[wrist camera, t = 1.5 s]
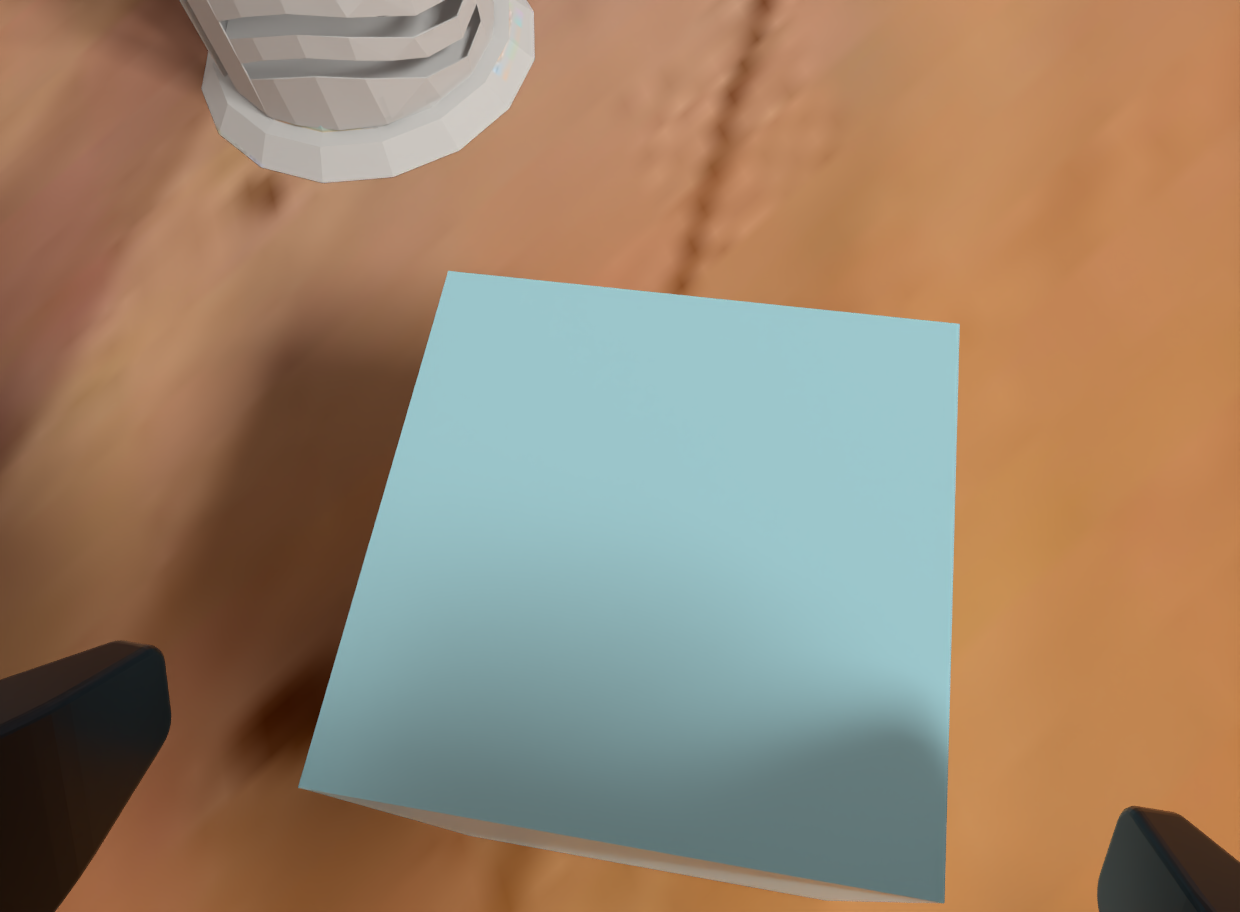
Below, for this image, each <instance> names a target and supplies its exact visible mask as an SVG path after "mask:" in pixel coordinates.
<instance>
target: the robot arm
mask: <svg viewBox="0 0 1240 912" xmlns="http://www.w3.org/2000/svg"><path fill="white" fill-rule="evenodd" d="M170 724H171V708H170V700H169V692H168V683H167V675H166V666H165V660H164V656H163V654H162V652H161V651H160V650H159V649H158V648H157V647H155V646H153V645H147V644H141V643H135V642H129V641H114V642H110V643H107V644H104V645H101V646H98V647H95V648H93V649H90V650H87V651H84V652H81V653H78V654H75V655H72V656H69V657H66V658H63V659H60V660H57V661H54V662H51V663H48V664H45V665H42V666H40V667H37V668H34V669H31V670H28V671H25V672H22V673H19V674H16V675H13V676H10V677H7V678H4V679H1V680H0V912H55V911H56V910H57V908H58V907H59V906H60V904H61V903H62V902H63V900H64V899H65V898H66V896H67V895H68V893H69V892H70V891H71V889H72V888H73V886H74V885H75V884H76V882H77V881H78V879H79V878H80V877H81V875H82V874H83V872H84V870H85V869H86V867H87V866H88V864H89V863H90V861H91V860H92V858H93V857H94V855H95V854H96V852H97V851H98V849H99V847H100V846H101V844H102V842H103V841H104V839H105V838H106V836H107V834H108V833H109V831H110V830H111V828H112V826H113V825H114V823H115V821H116V820H117V818H118V817H119V815H120V813H121V812H122V810H123V808H124V807H125V805H126V804H127V802H128V800H129V799H130V797H131V795H132V794H133V792H134V791H135V789H136V787H137V786H138V784H139V783H140V781H141V779H142V778H143V776H144V774H145V773H146V771H147V770H148V768H149V766H150V765H151V763H152V761H153V760H154V758H155V757H156V755H157V753H158V752H159V750H160V748H161V747H162V745H163V743H164V742H165V740H166V737H167V735H168V732H169V728H170ZM1097 899H1098V908H1099V912H1240V862H1239V861H1238V860H1236V859H1235V858H1234V857H1233V856H1231V855H1230V854H1229V853H1228V852H1226V851H1225V850H1224V849H1223V848H1221V847H1220V846H1219V845H1218V844H1216V843H1215V842H1214V841H1213V840H1211V839H1210V838H1209V837H1208V836H1206V835H1205V834H1204V833H1203V832H1201V831H1200V830H1199V829H1198V828H1196V827H1195V826H1194V825H1193V824H1191V823H1190V822H1189V821H1188V820H1186V819H1185V818H1184V817H1182V816H1181V815H1179V814H1177V813H1174V812H1170V811H1163V810H1157V809H1151V808H1145V807H1139V806H1131V807H1128V808H1126V809H1124V811H1123V812H1122V813H1121V815H1120V816H1119V819H1118V821H1117V824H1116V827H1115V830H1114V833H1113V836H1112V839H1111V842H1110V845H1109V848H1108V851H1107V854H1106V857H1105V860H1104V864H1103V867H1102V870H1101V873H1100V876H1099V880H1098V888H1097Z"/></svg>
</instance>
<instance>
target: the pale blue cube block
mask: <svg viewBox="0 0 1240 912" xmlns="http://www.w3.org/2000/svg"><path fill="white" fill-rule="evenodd" d="M959 328H960V324H955V323H945V322H936V321H926V320H916V319H907V318H897V317H887V316H878V315H868V314H858V313H849V312H839V311H829V310H820V309H810V308H800V307H791V306H781V305H772V304H762V303H752V302H743V301H733V300H723V299H714V298H704V297H694V296H685V295H675V294H665V293H656V292H646V291H637V290H627V289H617V288H608V287H598V286H588V285H579V284H569V283H559V282H550V281H540V280H530V279H521V278H511V277H501V276H492V275H482V274H473V273H463V272H453V271H448V274H447V277H446V281H445V284H444V288H443V291H442V295H441V298H440V301H439V305H438V308H437V312H436V315H435V319H434V322H433V325H432V329H431V332H430V336H429V339H428V343H427V346H426V350H425V353H424V356H423V360H422V363H421V367H420V370H419V374H418V377H417V380H416V384H415V387H414V391H413V394H412V398H411V401H410V405H409V408H408V411H407V415H406V418H405V422H404V425H403V429H402V432H401V435H400V439H399V442H398V446H397V449H396V453H395V456H394V460H393V463H392V466H391V470H390V473H389V477H388V480H387V484H386V487H385V490H384V494H383V497H382V501H381V504H380V508H379V511H378V514H377V518H376V521H375V525H374V528H373V532H372V535H371V539H370V542H369V545H368V549H367V552H366V556H365V559H364V563H363V566H362V569H361V573H360V576H359V580H358V583H357V587H356V590H355V594H354V597H353V600H352V604H351V607H350V611H349V614H348V618H347V621H346V624H345V628H344V631H343V635H342V638H341V642H340V645H339V649H338V652H337V655H336V659H335V662H334V666H333V669H332V673H331V676H330V679H329V683H328V686H327V690H326V693H325V697H324V700H323V704H322V707H321V710H320V714H319V717H318V721H317V724H316V728H315V731H314V734H313V738H312V741H311V745H310V748H309V752H308V755H307V759H306V762H305V765H304V769H303V772H302V776H301V779H300V783H299V786H298V788H302V789H305V790H309V791H312V792H316V793H320V794H323V795H327V796H330V797H334V798H337V799H341V800H344V801H348V802H352V803H355V804H359V805H362V806H366V807H369V808H373V809H376V810H380V811H384V812H387V813H391V814H394V815H398V816H401V817H405V818H408V819H412V820H416V821H419V822H423V823H426V824H430V825H433V826H437V827H440V828H444V829H448V830H451V831H455V832H458V833H462V834H465V835H469V836H474V837H479V838H485V839H490V840H496V841H501V842H507V843H512V844H518V845H523V846H529V847H534V848H540V849H545V850H551V851H556V852H562V853H567V854H573V855H578V856H584V857H589V858H595V859H600V860H606V861H611V862H617V863H622V864H628V865H633V866H639V867H644V868H650V869H655V870H661V871H666V872H672V873H677V874H683V875H688V876H694V877H699V878H705V879H710V880H716V881H721V882H727V883H732V884H738V885H743V886H749V887H754V888H760V889H765V890H771V891H776V892H782V893H787V894H793V895H798V896H804V897H809V898H815V899H820V900H826V901H867V902H908V903H944V899H945V861H946V823H947V785H948V747H949V709H950V670H951V632H952V594H953V556H954V518H955V480H956V442H957V404H958V366H959Z"/></svg>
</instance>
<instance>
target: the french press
mask: <svg viewBox="0 0 1240 912" xmlns="http://www.w3.org/2000/svg"><path fill="white" fill-rule="evenodd" d="M179 1H180V2H181V4H182V6H183V8H184V9H185V11H186V13H187V15H188V16H189V18H190V20H191V22H192V23H193V25H194V27H195V29H196V30H197V32H198V34H199V36H200V37H201V39H202V41H203V43H204V44H205V46H206V48H207V49H208V56H207V62H206V67H205V73H204V78H203V84H202V91H203V94H204V97H205V99H206V102H207V104H208V107H209V110H210V112H211V115H212V117H213V120H214V123H215V125H216V128H217V130H218V133H219V134H220V135H221V136H222V137H224V138H225V139H226V140H227V141H229V142H230V143H231V144H232V145H234V146H235V147H236V148H237V149H239V150H240V151H241V152H243V153H244V154H245V155H246V156H248V157H249V158H250V159H251V160H253V161H254V162H255V163H256V164H258V165H259V166H260V167H262V168H266V169H270V170H274V171H278V172H282V173H286V174H290V175H294V176H297V177H301V178H305V179H309V180H313V181H317V182H321V183H328V182H340V181H352V180H364V179H376V178H388V177H395V176H397V175H400V174H402V173H405V172H407V171H410V170H412V169H414V168H417V167H419V166H422V165H424V164H427V163H429V162H432V161H434V160H437V159H439V158H442V157H444V156H447V155H449V154H452V153H454V152H457V151H459V150H460V149H462V148H463V147H464V146H465V145H466V144H468V143H469V142H470V141H471V140H472V139H473V138H475V137H476V136H477V135H478V134H479V133H481V132H482V131H483V130H484V129H485V128H486V127H488V126H489V125H490V124H491V123H492V122H494V121H495V120H496V119H497V118H498V117H500V116H501V115H502V114H503V113H504V112H505V111H507V110H508V109H509V108H510V106H511V104H512V102H513V100H514V98H515V96H516V94H517V92H518V90H519V88H520V86H521V85H522V83H523V81H524V79H525V77H526V75H527V73H528V71H529V69H530V67H531V65H532V63H533V61H534V60H535V54H534V11H533V10H532V8H531V6H530V5H529V3H528V2H527V0H179Z"/></svg>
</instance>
